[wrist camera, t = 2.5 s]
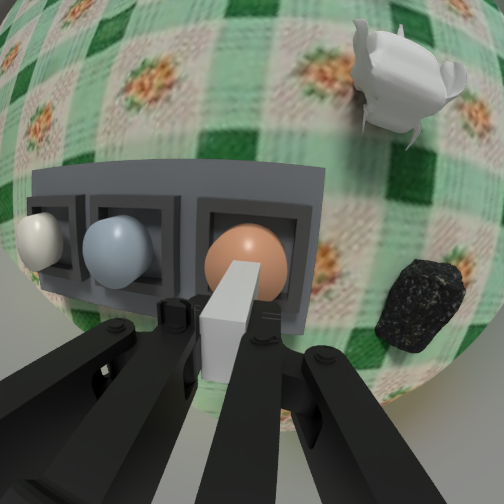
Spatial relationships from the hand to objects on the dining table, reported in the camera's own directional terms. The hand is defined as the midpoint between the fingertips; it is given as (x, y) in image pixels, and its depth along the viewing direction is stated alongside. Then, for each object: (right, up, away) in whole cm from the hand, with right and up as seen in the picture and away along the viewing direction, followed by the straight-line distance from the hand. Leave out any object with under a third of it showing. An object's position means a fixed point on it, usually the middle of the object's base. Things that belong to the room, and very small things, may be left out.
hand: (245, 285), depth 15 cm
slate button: (-10, +2, +5) cm, 11 cm away
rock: (+18, -3, +11) cm, 21 cm away
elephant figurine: (+13, +17, +6) cm, 22 cm away
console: (-9, +4, +11) cm, 15 cm away
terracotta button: (0, +1, +4) cm, 5 cm away
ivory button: (-20, +3, +6) cm, 21 cm away
